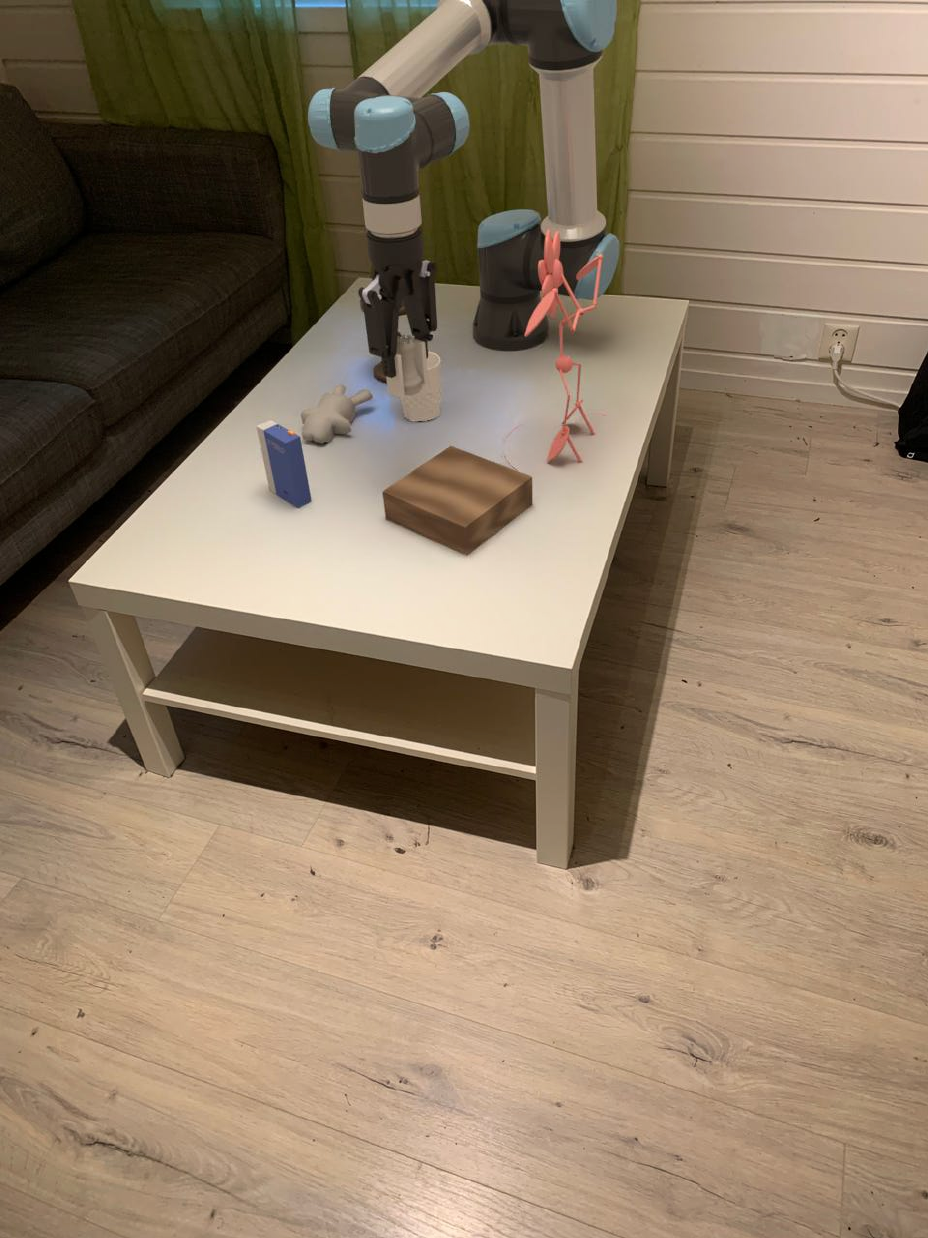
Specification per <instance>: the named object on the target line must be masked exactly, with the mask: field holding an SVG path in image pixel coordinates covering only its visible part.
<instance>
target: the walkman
mask: <svg viewBox="0 0 928 1238" xmlns="http://www.w3.org/2000/svg"><path fill="white" fill-rule="evenodd" d="M256 430H257V436H258V439H259V445H260V453H261V456H262V461H263V462H262V463H263V466H264V470H265V476H266V481H267V485H268V489H269V491H270V492H272V493H274V494H275V495H277V496H278V497H280V498H281V499H283V500H285V501H286V502H288V503H289V504H290V505H292V506H294V507H295V508H298V509H299V508H301V507H303V506H305V505H307V504H308V503H310V502H312V495H311V489H310V485H309V479H308V474H307V473H308V472H307V467H306V462H305V456H304V450H303V444H302V440H301V436H300V435H298V434H297V433H296V432H295V431H293V430H291V429H289V428H286V427H284V426H283V425H281V424H279V423H277V422H275V421H273V420H272V419H270V420H268V421H266V422H262V423H259V424H257V425H256Z"/></svg>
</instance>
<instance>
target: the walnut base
mask: <svg viewBox="0 0 928 1238" xmlns="http://www.w3.org/2000/svg"><path fill="white" fill-rule="evenodd" d="M382 499H383V509H384V517H385V520H387V521H389V522H392V523H393V524H396V525H398V526H400V527H403V528H405V529H406V530H409V531H411V532H414V533H416V534H418V535H421V536H422V537H425V538H427V539H429V540H432V541H434V542H436V543H438V544H440V545H443V546H445V547H448V549H449V548H450V549H452V550H453V551H455V552H458V553H460V554H463V555H465V556H469V555H470V554H471V553H473V551H475V550H476V549H477V548H479V547H481V546H482V545H483V544H484V543H485V542H486V541H487V540H489V539H491V538H492V537H493V536H494V535H495V534H497V533H498V532H499V531H500V530H502V529H503V528H505V527H506V526H507V525H508V524H509V523H511V522H512V521H513V520H515V519H516V518H517V517H518V516H520V515H521V514H522V513H523V512H524V511H526V510H527V509H529V508H530V507H531V506H532V505H533V476H531V475H530V474H529V475H528V474H526V473H523V472H521V471H519V470H517V469H516V470H515V469H514V468H511V467H508V466H505V465H502V464H500V463H498V462H495V461H494V460H493V461H492V460H490V459H487V458H484V457H482V456H478V455H476V454H474V453H471V452H469V451H466V450H463V449H461V448H458V447H455V446H453V445H449V446H448V447H446V448H445V449H443V450H442V451H440V452H438V454H436V455H434V456H433V457H431V458H429V460H427V461H425V462H424V463H422V464H421V465H420V466H418V467H416V468H415V469H413V470H412V471H410V473H408V474H406V475H405V476H403V477H401V478H400V479H399V480H397V481H395V482H394V483H392V485H390V486H389V487H387V488H386V489H384V490H382Z"/></svg>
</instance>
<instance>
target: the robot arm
mask: <svg viewBox="0 0 928 1238" xmlns="http://www.w3.org/2000/svg"><path fill="white" fill-rule="evenodd" d="M617 5H618V3H617V0H438V2H437V6H436V9H435V10H434V11H433V12H432V13H431V14H430V15H428V16H427V18H425V19H424V20H423V21H422V22H420V23H419V24H418V25H417V26H416V27H414V28H413V29H412V30H411V31H410V32H408V33H407V35H405V36H404V37H403V38H402V39H401V40H400V41H398V42H397V43H396V44H395V45H394V46H392V48H390V49H389V50H388V51H387V52H386V53H384V54H383V55H382V56H381V57H380V58H379V59H378V60H376V61H375V62H374V63H373V64H372V65H371V66H370V67H368V68H367V69H366V70H365V71H363V73H362V74H360V75H359V76H358V77H357V78H356V79H354V80H353V82H351V83H350V84H348V85H347V86H346V87H344V88H343V89H339V88H337V87H332V88H322V89H320V90H319V91H317V92H316V93H314V95H313V96H312V99H311V100H310V103H309V105H308V111H307V121H308V126H309V128H310V129H309V130H310V134H311V136H312V138H313V139H314V141H315V142H316V143H317V144H318V145H320V146H322V147H324V148H329V149H333V150H338V152H344V151H345V152H350V153H351V152H354V153H357V161H358V167H359V168H358V169H359V176H360V184H361V196H362V205H363V208H362V209H363V216H364V223H365V224H364V225H365V228H366V230H367V231H366V233H365V234H366V235H365V238H366V244H367V245H366V246H367V255H368V259H369V260H370V262H371V264H372V267H373V270H372V271H373V272H372V275H371V283H369V285H368V286H366V287H363V286H361V287H359V289H358V292H357V295H358V296H359V298H360V300H361V301H362V303H363V308H364V312H363V314H364V322H365V331H366V337H367V345H368V353H370V354H371V355H373V356H375V357H379V358H381V362H382V366H383V374H384V376H386V378H387V384H386V385H387V394H390V395H392V396H393V397H394V396H395V397H398V398H399V399H400V398H403V397H404V396H405V393H404V382H403V371H402V360H401V355H400V354H397V353H396V352H397V337H398V332H399V320H400V316H399V309H400V308H401V307H402V301H403V303H404V307H405V311H406V315H405V316H406V318H407V320H408V325H409V330H410V332H411V336H412V338H413V341H414V342H415V344H416V345H415V347H414V348H413V352H414V353H415V355H414V363H415V368H416V371H417V372H418V374H419V375H420V376H421V379H422V382H421V383H422V384H424V385H426V384H427V383H428V373H427V360H426V359H427V358H428V351H429V346H428V345H429V343H428V342H431V341H433V339H434V334H431V333H432V332H436V330H437V329H438V317H437V315H438V314H437V299H436V283H435V282H436V280H435V279H436V275H437V268H438V265H437V263H436V262H433V261H430V260H426V259H423V258H422V257H423V256H424V252H425V251H424V250H425V249H424V237H423V229H422V228H421V227H420V226H421V225H422V220H423V219H422V209H421V199H420V198H421V197H420V188H419V187H420V186H419V170H422V169H424V168H425V167H426V166H429V165H431V164H432V163H435V162H437V161H440V160H441V159H444V158H447V157H449V156H451V155H452V154H453V153H454V152H455V151H456V150H458V149H460V148H461V147H462V146H463V145H464V144H465V142H466V140H467V139H468V136H469V131H470V126H471V125H470V118H469V113H468V110H467V108H466V107H465V104H464V102H462V101H461V99H459V97H457V96H456V95H455V94H453V93H451V92H446V91H441V92H436V93H433V92H432V93H430V94H427V93H428V92H429V91H430V90H431V89H432V88H433V87H434V86H435V85H437V83H438V82H439V81H441V79H443V78H444V77H445V76H446V75H447V74H448V73H449V72H451V70H453V69H454V67H456V66H457V65H458V64H460V62H461V61H462V60H464V59H465V58H466V57H467V56H474V55H476V54H479V53H480V52H482V51H484V50H485V49H486V48H487V47H488V46H489V47H490V46H492V45H493V46H494V45H518V46H525V47H527V57H528V58H527V59H528V64H529V67H530V68H532V70H534V71H535V72H536V73H538V75H539V76H538V77H539V79H538V80H539V94H540V107H541V119H542V120H541V123H542V136H543V137H542V138H543V139H542V140H543V151H544V153H543V154H544V155H543V156H544V169H545V171H544V172H545V185H546V187H545V188H546V199H547V200H546V201H547V214H548V215H547V216H546V217H545V218H544V219H543V220H542V218H541V215H540V213H539V212H538V211H536V210H534V209H529V208H528V209H526V208H525V209H524V208H523V209H522V208H521V209H511V210H506V211H502V212H497V213H495V214H493V215H490V216H488V217H486V218H485V219H484V220H482V221H481V223H480V224H479V225H478V229H477V232H478V233H477V244H476V247H477V254H478V271H479V273H478V274H479V276H478V277H479V293H480V294H479V295H480V297H479V302H478V305H477V308H476V312H475V315H474V319H473V322H472V336H473V339H474V341H475V342H476V343H477V344H479V345H480V346H482V347H485V348H488V349H491V350H496V351H521V350H526V349H531V348H533V347H535V346H538V345H540V344H542V343H543V342H545V341H546V340H547V339H548V337H549V335H550V321H549V318H548V316H547V315H546V316H545V317H544V318H543V320H542V321H541V322H540V324H539V325H538V326H537V327H536V328H535V329H534V330H533V331H532V332H531V333H530V334H529V335H528V336H527V337H525V332H526V328H527V325H528V322H529V320H530V318H531V316H532V314H533V312H534V310H535V309H536V307H537V306H538V304H539V303H540V302H541V300H542V296H541V292H542V285H541V282H540V279H539V275H538V263H539V261H541V260H544V245H545V237H546V233H547V231H548V229H550V231H551V237H552V242H553V238H554V235H555V233H556V232H557V231H558V232H560V255H559V261H560V262H561V264H562V267H563V276H564V277H565V279H566V281H567V283H568V285H569V287H570V289H571V291H572V292H573V294H574V296H575V298H576V300H578V299H579V300H580V299H581V300H588V301H589V300H590V301H593V300H594V292H595V285H596V277H597V268H598V266H597V267H595V268H594V269H593V270H592V271H591V272H589V273H588V274H587V275H585V276H584V277H583V278H581V279H580V280H579V281H578V280H577V279H576V275H577V274H578V272H579V271H580V270H581V269H582V268H583V267H584V266H585V265H586V264H588V263H589V262H590V261H591V260H593V259H594V258H596V257H598V255H600V254H602V255H603V259H602V265H601V272H600V280H599V288H598V296H597V299H599V298H600V297H601V296H603V294H605V292H606V291H607V289H608V287H609V286H610V284H611V281H612V280H613V277H614V275H615V273H616V268H617V265H618V261H619V256H620V240H619V239H618V237H617V236H616V235H615V234H613V233H610V232H609V233H607V219H606V217H605V216H604V213H601V212H600V211H599V210H598V194H597V192H598V191H597V190H598V189H597V158H596V157H597V155H596V153H597V152H596V122H595V121H596V119H595V118H596V117H595V89H594V86H595V85H594V83H595V82H594V68H595V66H596V65H597V64H598V63H599V62H600V61H601V59H602V58H603V50H605V49H606V48H607V47H608V46H609V45H610V43H611V42H612V39H613V37H614V34H615V29H616V28H615V23H616V21H617V16H618V15H617V10H618V9H617V8H618V6H617ZM425 94H427V95H426V97H423V96H424V95H425ZM558 295H559V296H565V297H570V298H571V296H570V294H569V293H568V291H567V289H566V287H565V285H564V283H562V285H561V286H559V287H558ZM390 299H391V300H390ZM393 300H394V301H393Z"/></svg>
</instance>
